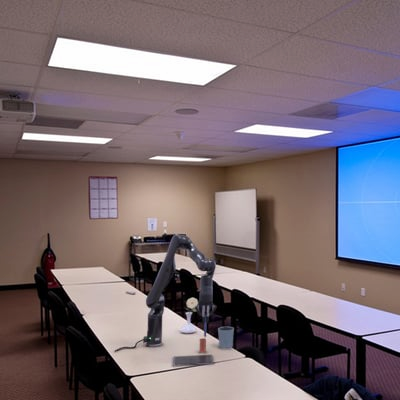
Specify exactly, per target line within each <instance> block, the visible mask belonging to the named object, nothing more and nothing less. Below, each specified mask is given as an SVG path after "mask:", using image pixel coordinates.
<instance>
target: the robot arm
mask: <svg viewBox="0 0 400 400" xmlns="http://www.w3.org/2000/svg"><path fill="white" fill-rule="evenodd" d="M177 250H182V251H183V250H184V251H186V252H188V256H189V258H190V259H191V260H192V261H193V262H194V263H195V266H196V267H197V269H198V271H201V272H205V274H202V275H201V276H200V279H199V280H200V282H199V283H200V285H199V300H198V304H197V305H196V306H195V309H196V313H197V314H198V316H199V317H201V322H202V323H203V324H204V323H205V314H206V315H207V319H206V324H208V323H209V322H210V317H211V316H213V314H214V313H215V312H216V310H217V309H218V308H217V307H218V306H217V305H216V304H214V302H213V296H214V295H213V292H214V291H213V289H214V288H213V278H214V274H215V271H216V267H217V263H216V260H215V259H213V258H206V257H207V256H206V255H205V254H204V253H203V252H202V251H201V250H200V249H198V248H197V246H196V245H195V244H194V243H193V241H192V240H191V238H190V237H189V236H187V235H185V234H180V233H175V234H173V236H172V237H171V239H170V242H169V245H168V248H167V251H166V254H165V257H164V259H163V261H162V263H161V266H160V269H159V271H158V273H157V276H156V277H155V281H154V283H153V285H152V286H151V289H150V291H149V293H148V294H147V296H146V298H145V305H146V307H147V308H148V309H150V311H149V312H148V313H147V331H146V335H144V336H143V338H142V339H139V340H138V341H136V343H135V344H134V346H122V347H121V346H120V347H119V348H117V349H114V352H117V351H120V350H123V349H135V348H136V347H137V346H138V344H139V343H141V342H143V344H146V347H153V348H154V347H155V348H156V347H160V346H162V345H163V314H164V312H165V296H164V295H163V291H164V290H165V289H166V287H167V286H168V284H169V283H171V280H172V279H173V278H174V277H173V276H174V274H175V272H176V269H177V266H176V259H175V258H176V257H175V256H176V253H177ZM211 309H212V310H211ZM200 310H201V311H200ZM210 310H211V311H210ZM205 312H206V313H205Z"/></svg>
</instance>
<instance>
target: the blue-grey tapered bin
mask: <svg viewBox="0 0 400 400" xmlns="http://www.w3.org/2000/svg"><path fill="white" fill-rule="evenodd" d="M234 331H235V328H234V327H233V326H220V327H218V328H217V332H218V347H219V348H220V349H223V350H224V349H225V350H227V349H228V350H229V349H232V348H233V346H234V333H235V332H234Z"/></svg>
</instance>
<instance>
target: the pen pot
mask: <svg viewBox="0 0 400 400" xmlns="http://www.w3.org/2000/svg"><path fill="white" fill-rule="evenodd" d="M198 348H199V351H198V352H199V353H201V354H202V353H203V354H204V353H206V352H207V339H206V338H205V337H203V338H199V347H198Z"/></svg>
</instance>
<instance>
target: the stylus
mask: <svg viewBox="0 0 400 400" xmlns="http://www.w3.org/2000/svg"><path fill="white" fill-rule="evenodd" d="M204 316H205V323H203V325H204V326H203V338H206V337H207V323H206V319H207V313H204Z"/></svg>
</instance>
